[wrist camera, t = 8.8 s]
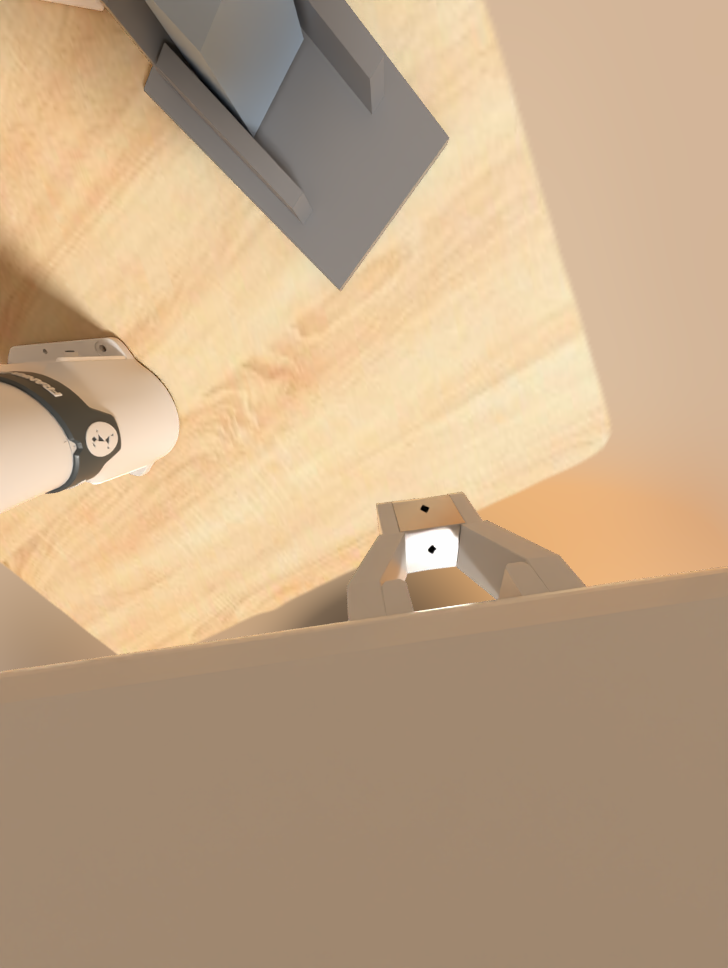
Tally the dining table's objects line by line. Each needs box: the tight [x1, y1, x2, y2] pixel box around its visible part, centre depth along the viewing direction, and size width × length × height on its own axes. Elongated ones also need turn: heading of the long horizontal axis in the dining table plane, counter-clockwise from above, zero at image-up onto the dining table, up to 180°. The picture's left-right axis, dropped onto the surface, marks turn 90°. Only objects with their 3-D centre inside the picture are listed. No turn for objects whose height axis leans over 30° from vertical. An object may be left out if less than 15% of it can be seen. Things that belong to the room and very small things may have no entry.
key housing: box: [99, 0, 449, 291], centre depth 25 cm, size 24×16×9 cm, turn 48°
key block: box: [145, 0, 304, 138], centre depth 22 cm, size 6×8×9 cm
